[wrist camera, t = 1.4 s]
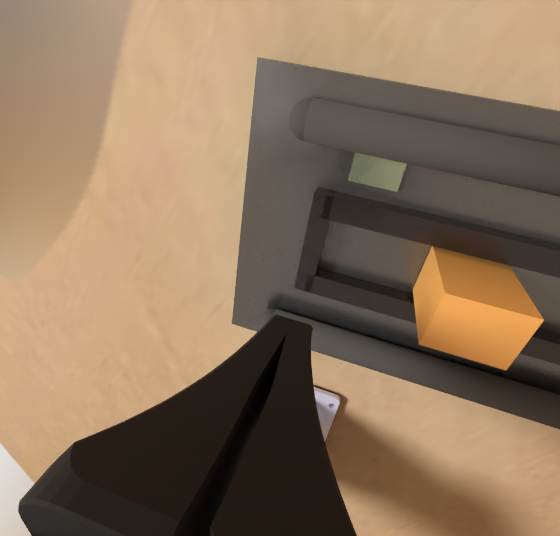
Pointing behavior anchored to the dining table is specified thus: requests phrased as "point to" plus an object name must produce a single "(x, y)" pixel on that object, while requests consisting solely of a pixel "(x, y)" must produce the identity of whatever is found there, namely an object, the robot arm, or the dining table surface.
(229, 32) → the dining table surface
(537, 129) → the plate
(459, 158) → the grey rails and frame
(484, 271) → the orange rectangular box
